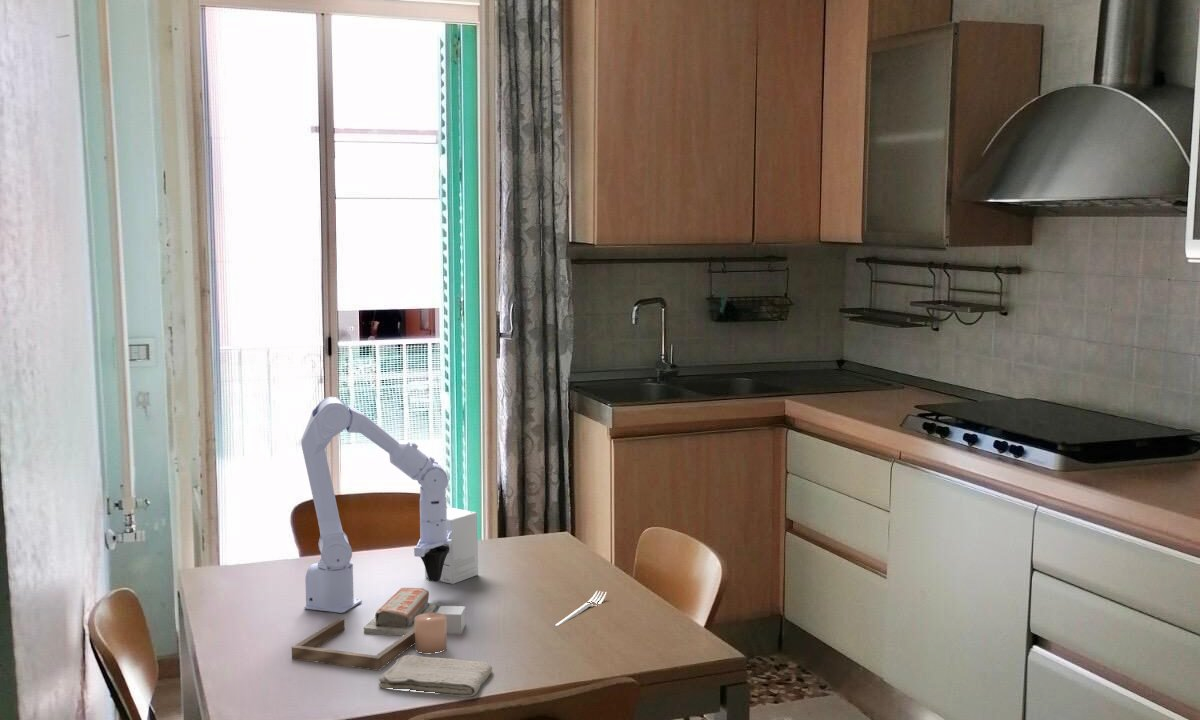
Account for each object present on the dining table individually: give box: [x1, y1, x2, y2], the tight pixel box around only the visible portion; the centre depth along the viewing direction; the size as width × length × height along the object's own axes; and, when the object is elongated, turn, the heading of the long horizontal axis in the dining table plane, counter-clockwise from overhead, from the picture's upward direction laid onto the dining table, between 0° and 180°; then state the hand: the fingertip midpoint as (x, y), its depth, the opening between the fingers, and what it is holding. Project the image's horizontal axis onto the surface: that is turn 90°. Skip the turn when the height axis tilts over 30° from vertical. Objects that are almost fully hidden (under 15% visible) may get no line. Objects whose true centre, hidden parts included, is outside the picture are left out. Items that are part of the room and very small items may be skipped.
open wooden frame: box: [291, 618, 415, 671], centre depth 213 cm, size 18×17×2 cm
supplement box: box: [424, 507, 479, 585], centre depth 259 cm, size 9×9×15 cm
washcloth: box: [378, 654, 493, 698], centre depth 198 cm, size 12×18×3 cm, turn 80°
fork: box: [554, 590, 607, 627], centre depth 235 cm, size 3×20×2 cm, turn 152°
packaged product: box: [363, 587, 439, 636], centre depth 230 cm, size 18×5×10 cm
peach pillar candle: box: [414, 612, 448, 653], centre depth 214 cm, size 6×6×6 cm
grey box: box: [436, 605, 467, 634], centre depth 224 cm, size 5×5×4 cm
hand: (434, 580), depth 244 cm, fingers closed
